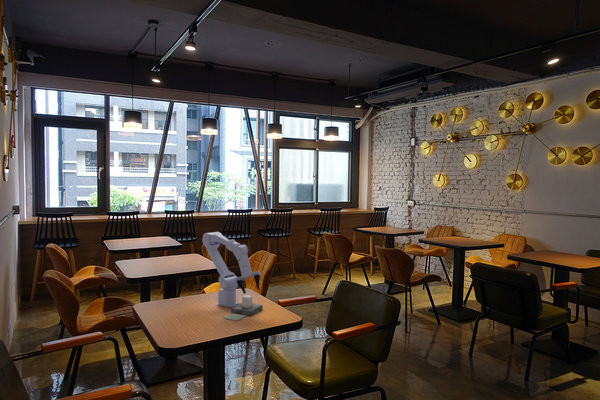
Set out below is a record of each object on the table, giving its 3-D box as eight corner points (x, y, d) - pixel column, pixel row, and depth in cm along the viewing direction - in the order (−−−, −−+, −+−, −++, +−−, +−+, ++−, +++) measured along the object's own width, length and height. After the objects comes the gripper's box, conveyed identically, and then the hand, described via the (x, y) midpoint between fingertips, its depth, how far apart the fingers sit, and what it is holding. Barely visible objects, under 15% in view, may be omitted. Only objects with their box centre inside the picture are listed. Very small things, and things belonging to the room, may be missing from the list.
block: (242, 311, 214) (242, 296, 213) (246, 309, 217) (246, 294, 217) (248, 312, 212) (248, 297, 212) (252, 310, 216) (252, 295, 215)
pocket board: (231, 312, 212) (231, 308, 212) (243, 306, 223) (243, 301, 223) (250, 316, 207) (250, 311, 207) (262, 309, 218) (262, 304, 217)
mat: (223, 318, 202) (223, 317, 202) (233, 314, 210) (233, 313, 210) (237, 321, 199) (237, 320, 199) (245, 316, 206) (245, 315, 206)
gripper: (230, 270, 213) (236, 295, 210) (256, 262, 212) (263, 287, 209) (234, 270, 220) (240, 295, 217) (259, 263, 219) (265, 287, 216)
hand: (251, 291), depth 214 cm, fingers open, 7 cm apart
